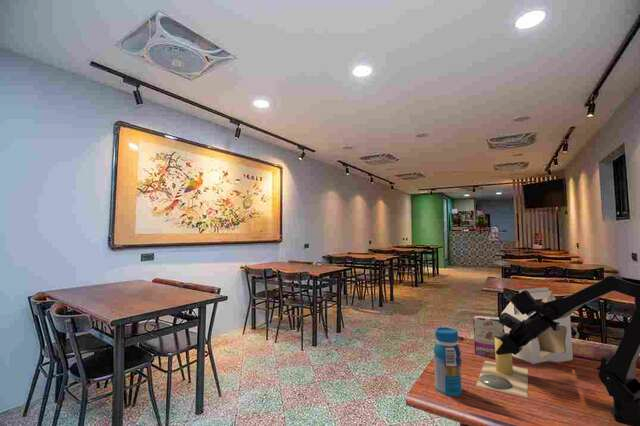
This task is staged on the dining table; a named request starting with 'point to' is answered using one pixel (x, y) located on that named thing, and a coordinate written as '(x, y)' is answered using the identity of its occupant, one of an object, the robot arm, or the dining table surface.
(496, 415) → the dining table surface
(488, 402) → the dining table surface
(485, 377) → the slate seat
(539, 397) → the dining table surface
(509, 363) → the yellow cylinder
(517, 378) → the base board
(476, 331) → the candy bar box
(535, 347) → the gable box
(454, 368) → the beverage bottle
